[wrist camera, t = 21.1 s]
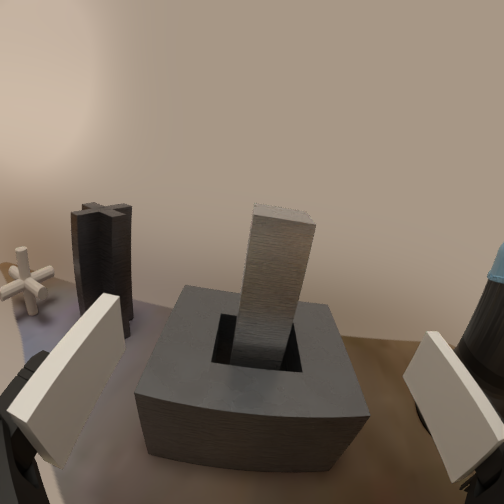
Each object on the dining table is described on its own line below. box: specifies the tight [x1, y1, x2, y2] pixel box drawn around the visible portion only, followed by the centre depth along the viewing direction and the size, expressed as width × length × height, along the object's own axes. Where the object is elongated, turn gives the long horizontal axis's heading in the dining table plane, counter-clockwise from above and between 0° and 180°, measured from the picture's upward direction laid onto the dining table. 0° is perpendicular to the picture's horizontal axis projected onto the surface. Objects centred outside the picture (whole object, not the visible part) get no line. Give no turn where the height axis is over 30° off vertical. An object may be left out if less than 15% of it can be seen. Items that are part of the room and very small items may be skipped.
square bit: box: [230, 203, 316, 371], centre depth 23 cm, size 4×4×20 cm
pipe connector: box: [0, 247, 54, 316], centre depth 30 cm, size 10×10×10 cm
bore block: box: [134, 285, 370, 472], centre depth 25 cm, size 16×16×9 cm
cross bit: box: [71, 202, 133, 339], centre depth 32 cm, size 8×8×16 cm
